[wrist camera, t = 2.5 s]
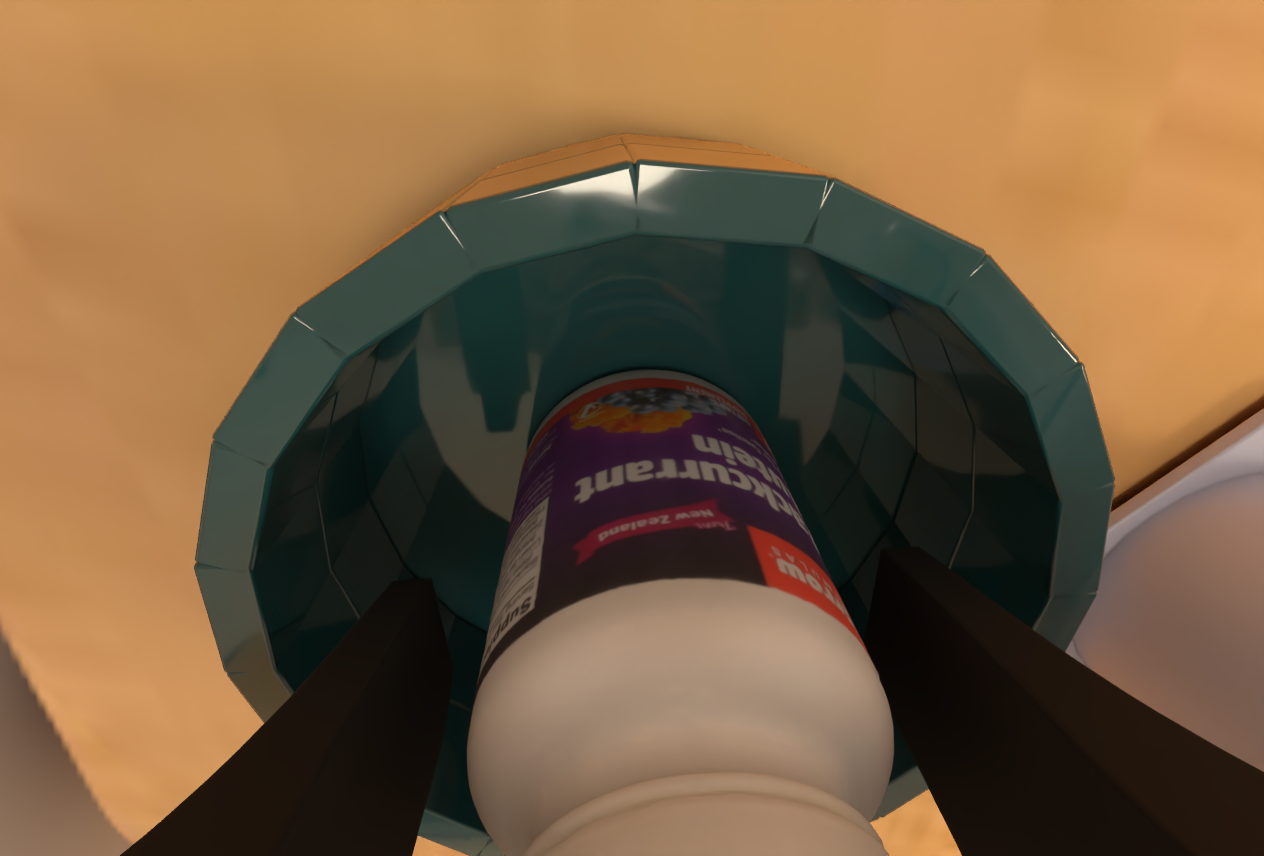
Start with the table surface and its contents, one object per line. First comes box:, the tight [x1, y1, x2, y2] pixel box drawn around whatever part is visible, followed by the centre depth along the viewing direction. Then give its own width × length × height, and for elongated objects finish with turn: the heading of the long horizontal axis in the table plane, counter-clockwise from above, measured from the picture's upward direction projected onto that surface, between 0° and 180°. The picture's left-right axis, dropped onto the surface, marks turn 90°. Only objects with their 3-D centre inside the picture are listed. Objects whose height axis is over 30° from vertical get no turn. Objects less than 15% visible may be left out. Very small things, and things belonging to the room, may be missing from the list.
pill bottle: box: [467, 370, 894, 856], centre depth 10 cm, size 5×5×10 cm
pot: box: [194, 134, 1115, 856], centre depth 12 cm, size 14×14×5 cm
